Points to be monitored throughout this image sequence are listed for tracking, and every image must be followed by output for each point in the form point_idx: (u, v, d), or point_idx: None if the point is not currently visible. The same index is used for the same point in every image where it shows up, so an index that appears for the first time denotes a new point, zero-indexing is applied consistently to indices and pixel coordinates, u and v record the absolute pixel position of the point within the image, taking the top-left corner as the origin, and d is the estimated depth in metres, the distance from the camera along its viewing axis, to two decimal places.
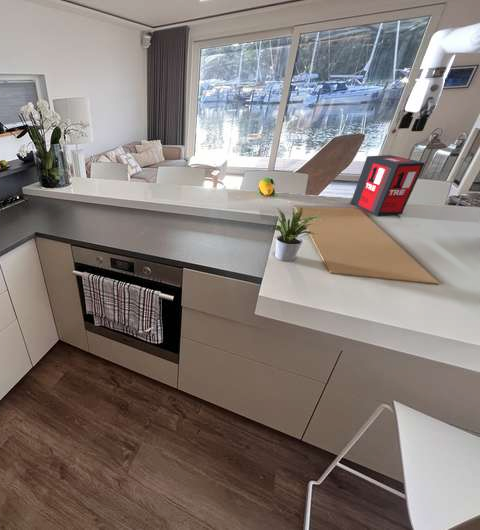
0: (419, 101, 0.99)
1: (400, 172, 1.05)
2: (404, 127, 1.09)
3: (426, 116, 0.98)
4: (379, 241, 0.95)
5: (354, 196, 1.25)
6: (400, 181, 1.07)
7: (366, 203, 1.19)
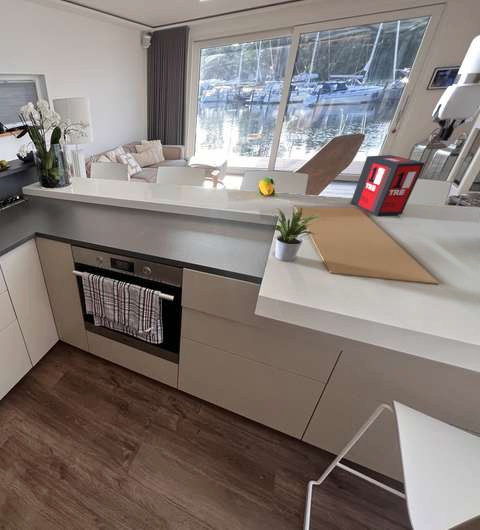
0: (476, 106, 0.95)
1: (400, 172, 1.05)
2: None
3: None
4: (379, 241, 0.95)
5: (354, 196, 1.25)
6: (400, 181, 1.07)
7: (366, 203, 1.19)
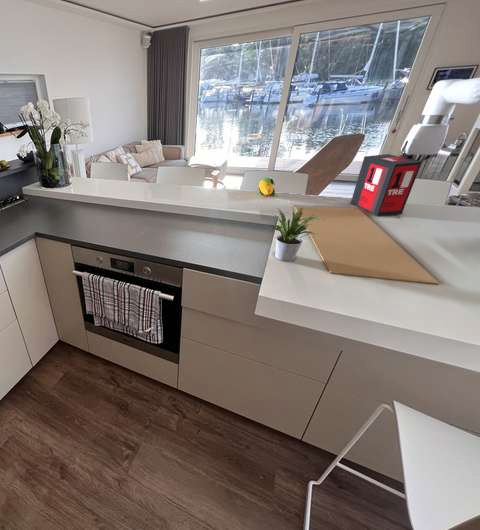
0: (439, 144, 1.03)
1: (397, 172, 1.05)
2: None
3: None
4: (379, 241, 0.95)
5: (353, 196, 1.25)
6: (398, 181, 1.07)
7: (365, 203, 1.19)
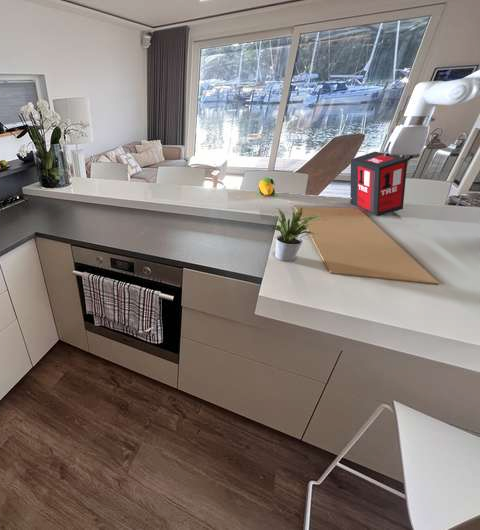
0: (421, 145, 1.04)
1: (384, 173, 1.05)
2: None
3: None
4: (379, 241, 0.95)
5: (351, 197, 1.26)
6: (389, 181, 1.07)
7: (363, 203, 1.19)
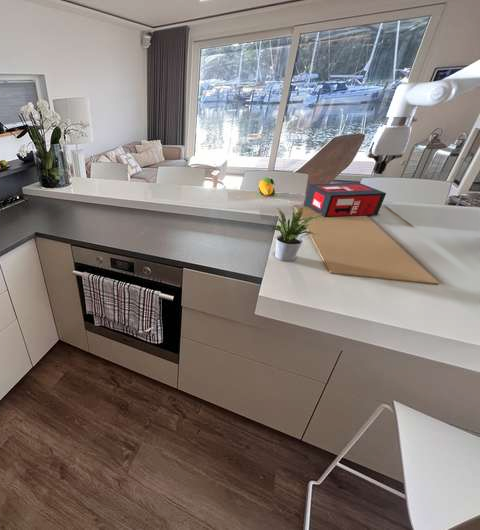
0: (403, 145, 1.06)
1: (333, 212, 1.14)
2: None
3: None
4: (379, 241, 0.95)
5: None
6: (344, 208, 1.13)
7: None
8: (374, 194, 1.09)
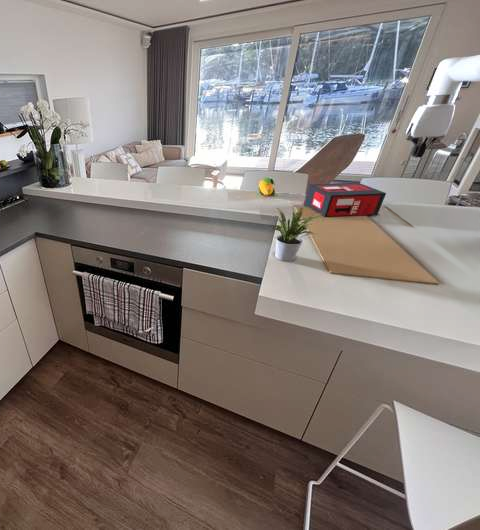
0: (446, 125, 1.00)
1: (333, 212, 1.14)
2: None
3: None
4: (379, 241, 0.95)
5: None
6: (344, 208, 1.13)
7: None
8: (374, 194, 1.09)
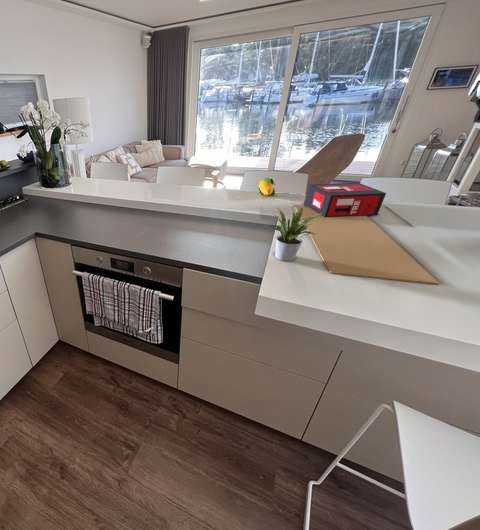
0: None
1: (333, 212, 1.14)
2: None
3: None
4: (379, 241, 0.95)
5: None
6: (344, 208, 1.13)
7: None
8: (374, 194, 1.09)
